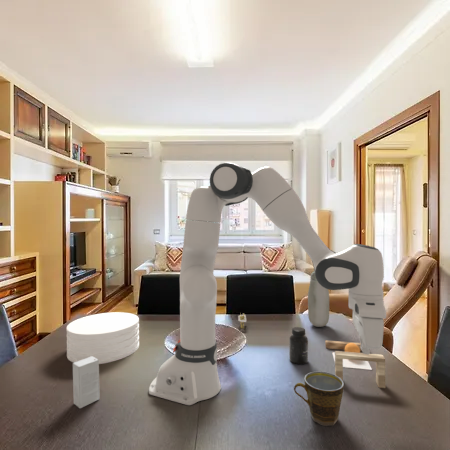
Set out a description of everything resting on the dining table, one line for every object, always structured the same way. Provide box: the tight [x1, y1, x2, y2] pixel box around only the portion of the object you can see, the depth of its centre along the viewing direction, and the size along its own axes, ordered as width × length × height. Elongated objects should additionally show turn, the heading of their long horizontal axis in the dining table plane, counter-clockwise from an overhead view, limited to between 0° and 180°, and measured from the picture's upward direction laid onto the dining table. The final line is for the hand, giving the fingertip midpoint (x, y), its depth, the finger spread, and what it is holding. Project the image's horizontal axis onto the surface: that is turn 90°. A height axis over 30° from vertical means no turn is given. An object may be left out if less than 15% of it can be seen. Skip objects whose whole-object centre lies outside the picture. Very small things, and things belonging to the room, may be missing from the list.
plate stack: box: [66, 311, 140, 365], centre depth 126 cm, size 28×28×12 cm
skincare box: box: [72, 356, 101, 409], centre depth 88 cm, size 6×4×12 cm
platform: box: [237, 312, 247, 328], centre depth 151 cm, size 12×18×7 cm, turn 178°
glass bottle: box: [307, 270, 330, 328], centre depth 150 cm, size 10×10×28 cm
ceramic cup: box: [293, 370, 345, 427], centre depth 80 cm, size 13×10×10 cm
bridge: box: [334, 350, 386, 389], centre depth 97 cm, size 3×14×9 cm, turn 76°
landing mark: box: [332, 351, 373, 371], centre depth 112 cm, size 12×12×1 cm
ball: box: [344, 342, 361, 353], centre depth 115 cm, size 6×6×6 cm
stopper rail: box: [324, 339, 362, 352], centre depth 123 cm, size 16×2×2 cm, turn 76°
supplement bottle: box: [288, 326, 309, 365], centre depth 113 cm, size 7×7×12 cm
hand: (365, 352), depth 83 cm, fingers closed
